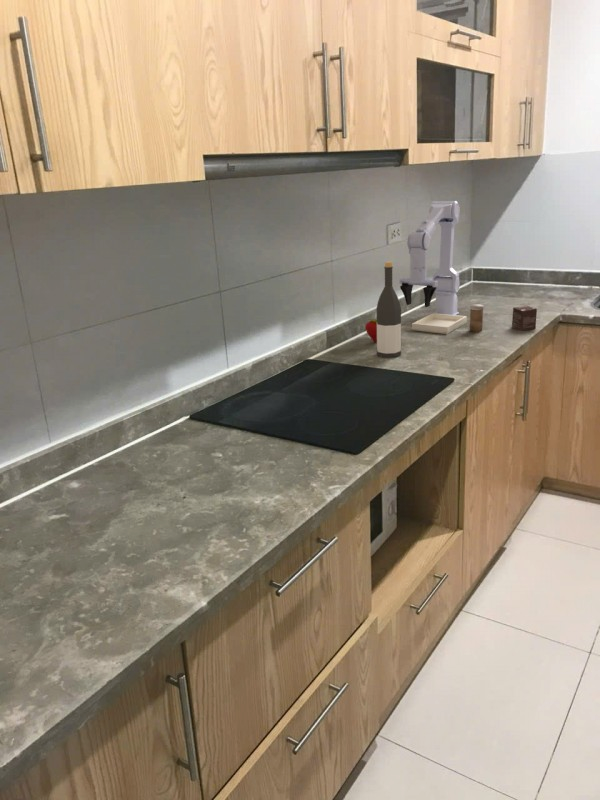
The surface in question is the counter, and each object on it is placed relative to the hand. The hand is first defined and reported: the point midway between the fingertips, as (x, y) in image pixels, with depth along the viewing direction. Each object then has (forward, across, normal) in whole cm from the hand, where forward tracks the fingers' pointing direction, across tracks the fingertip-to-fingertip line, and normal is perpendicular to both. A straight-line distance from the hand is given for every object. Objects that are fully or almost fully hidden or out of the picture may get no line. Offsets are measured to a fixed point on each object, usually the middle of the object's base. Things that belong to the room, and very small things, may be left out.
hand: (417, 305), depth 231 cm
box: (+10, +30, +24) cm, 39 cm away
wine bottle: (+10, +6, -28) cm, 31 cm away
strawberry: (+10, -6, -18) cm, 22 cm away
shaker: (+10, +17, +13) cm, 23 cm away
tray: (+10, +3, +11) cm, 15 cm away
